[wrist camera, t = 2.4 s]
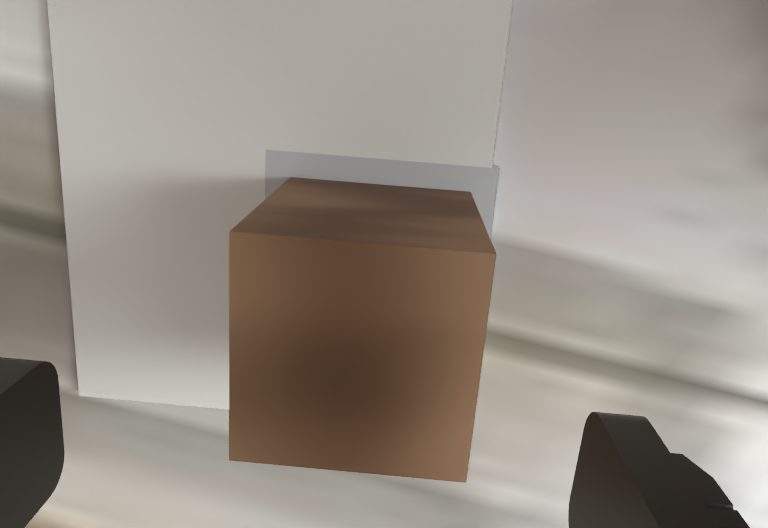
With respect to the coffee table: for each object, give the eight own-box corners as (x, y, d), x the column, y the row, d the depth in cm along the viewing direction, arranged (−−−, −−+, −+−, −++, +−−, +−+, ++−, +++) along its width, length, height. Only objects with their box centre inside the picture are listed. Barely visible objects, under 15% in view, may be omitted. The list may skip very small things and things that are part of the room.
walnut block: (470, 191, 18) (496, 254, 12) (451, 356, 19) (466, 482, 13) (290, 176, 18) (229, 231, 12) (285, 342, 19) (229, 460, 13)
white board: (580, -484, 14) (585, -500, 13) (464, 424, 20) (465, 431, 20) (6, -515, 14) (-6, -532, 13) (79, 389, 20) (72, 395, 20)
